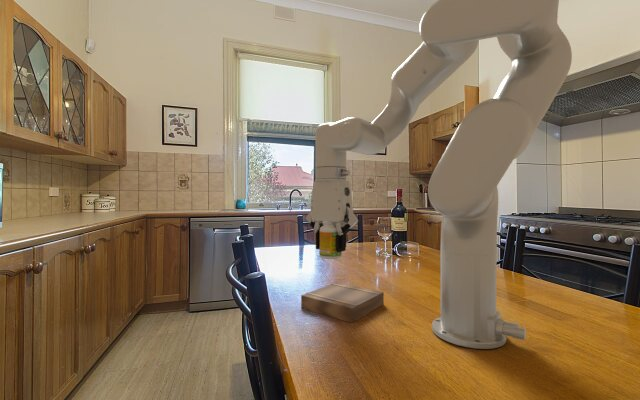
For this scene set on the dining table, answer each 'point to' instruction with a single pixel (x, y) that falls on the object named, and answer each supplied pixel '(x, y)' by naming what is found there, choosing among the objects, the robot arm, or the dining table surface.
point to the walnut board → (342, 301)
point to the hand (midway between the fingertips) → (330, 249)
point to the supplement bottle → (328, 241)
